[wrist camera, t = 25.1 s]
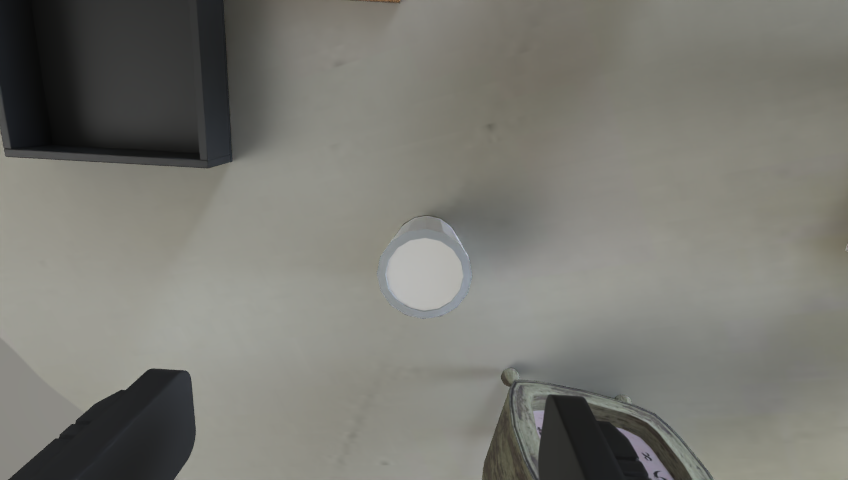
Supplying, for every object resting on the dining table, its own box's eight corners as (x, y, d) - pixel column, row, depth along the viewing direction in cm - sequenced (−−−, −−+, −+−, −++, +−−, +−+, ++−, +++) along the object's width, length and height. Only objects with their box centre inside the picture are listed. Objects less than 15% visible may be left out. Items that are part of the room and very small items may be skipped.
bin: (17, -56, 36) (-38, -77, 31) (220, -45, 35) (192, -65, 31) (50, 151, 40) (4, 156, 36) (232, 161, 39) (208, 168, 35)
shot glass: (370, 246, 41) (356, 273, 34) (427, 191, 40) (425, 209, 33) (425, 300, 42) (423, 337, 36) (483, 249, 41) (492, 277, 34)
